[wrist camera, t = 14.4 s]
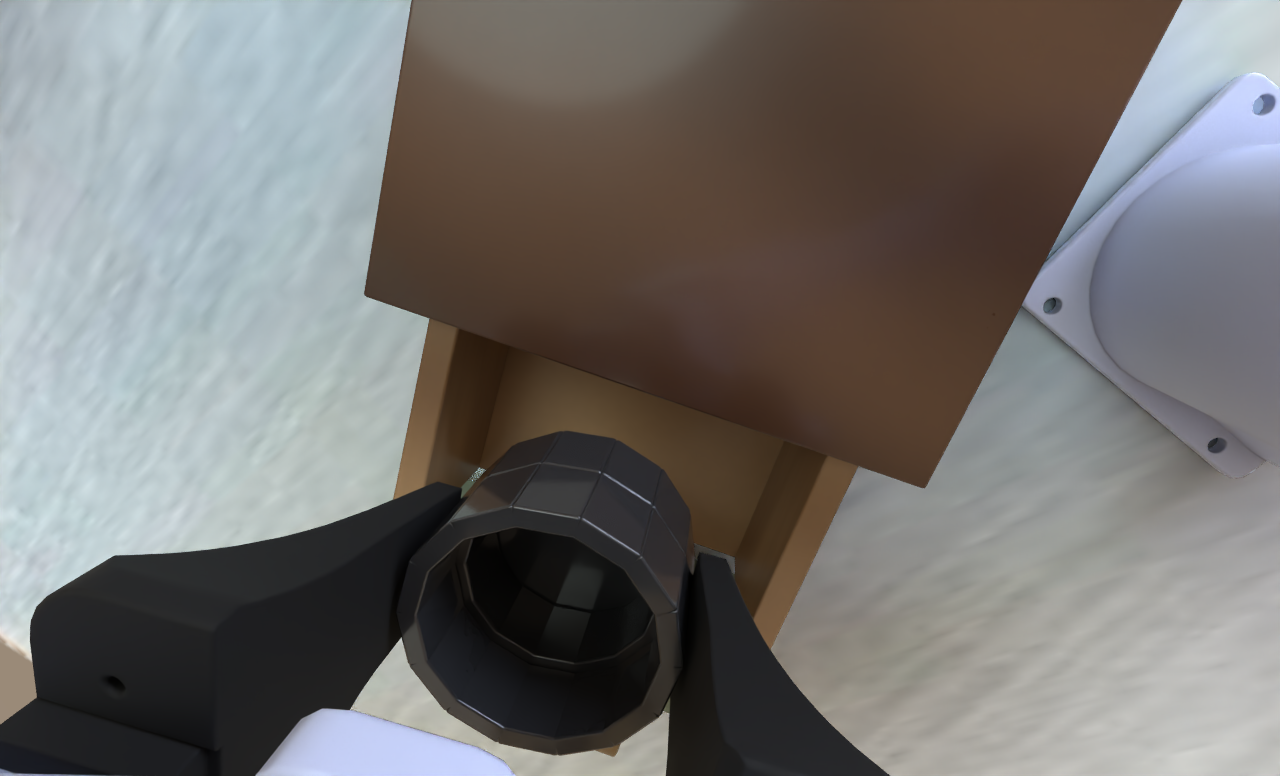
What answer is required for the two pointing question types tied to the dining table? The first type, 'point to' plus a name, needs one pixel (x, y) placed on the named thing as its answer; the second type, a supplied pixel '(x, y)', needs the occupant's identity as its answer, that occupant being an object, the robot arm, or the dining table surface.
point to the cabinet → (753, 194)
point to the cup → (554, 596)
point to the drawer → (654, 427)
